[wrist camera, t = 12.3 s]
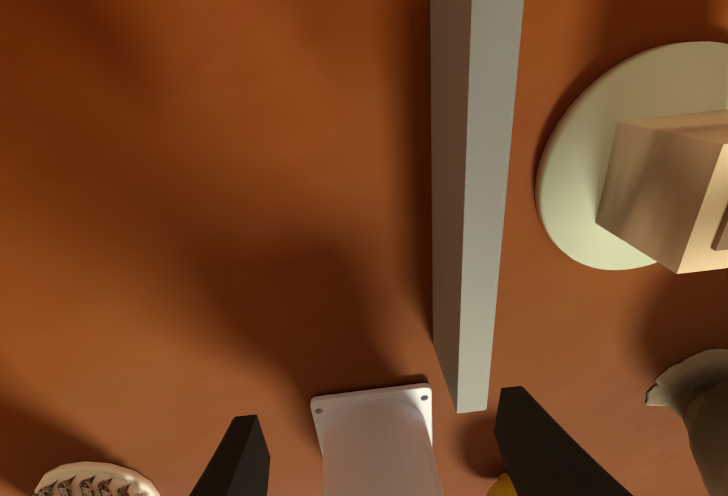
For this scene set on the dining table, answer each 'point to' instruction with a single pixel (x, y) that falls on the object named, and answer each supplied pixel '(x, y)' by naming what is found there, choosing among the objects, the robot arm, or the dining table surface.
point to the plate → (596, 135)
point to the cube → (670, 189)
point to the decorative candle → (94, 481)
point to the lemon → (502, 487)
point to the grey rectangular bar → (469, 181)
